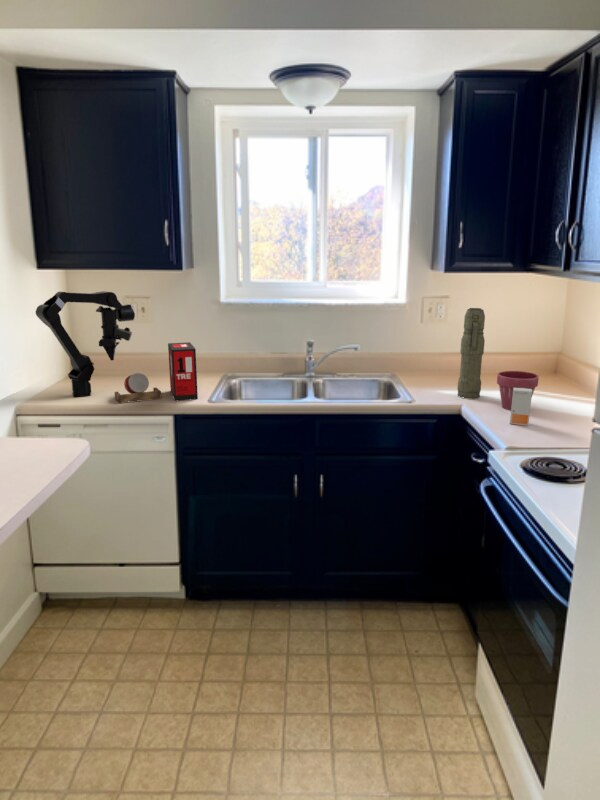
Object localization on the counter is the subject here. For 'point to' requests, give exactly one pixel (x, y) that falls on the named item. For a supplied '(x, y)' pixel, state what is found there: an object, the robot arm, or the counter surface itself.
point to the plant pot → (514, 384)
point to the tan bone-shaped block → (138, 396)
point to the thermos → (471, 354)
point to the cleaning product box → (183, 371)
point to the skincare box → (521, 406)
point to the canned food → (136, 383)
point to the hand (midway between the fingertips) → (112, 360)
